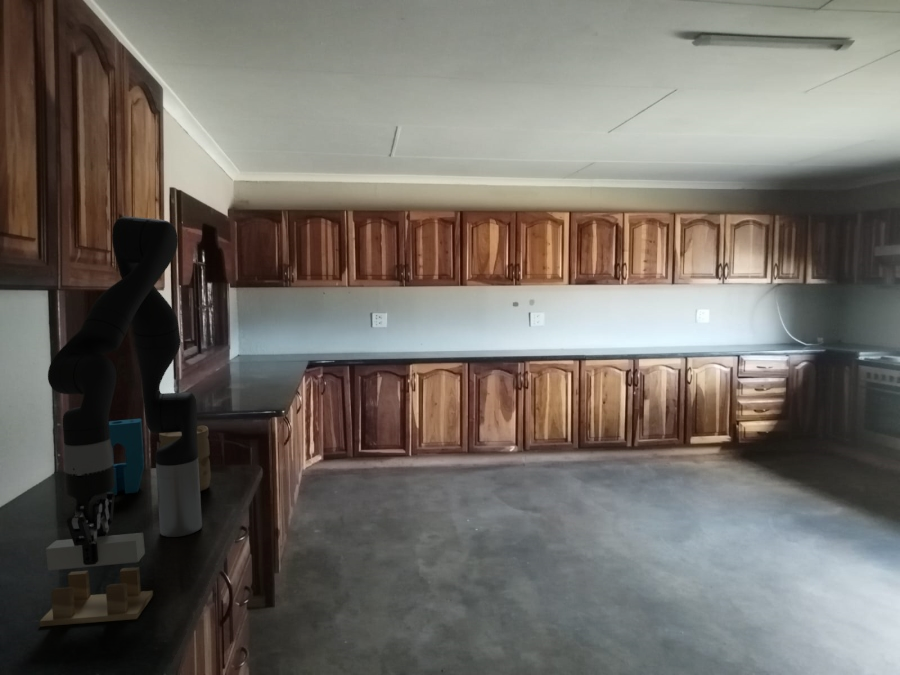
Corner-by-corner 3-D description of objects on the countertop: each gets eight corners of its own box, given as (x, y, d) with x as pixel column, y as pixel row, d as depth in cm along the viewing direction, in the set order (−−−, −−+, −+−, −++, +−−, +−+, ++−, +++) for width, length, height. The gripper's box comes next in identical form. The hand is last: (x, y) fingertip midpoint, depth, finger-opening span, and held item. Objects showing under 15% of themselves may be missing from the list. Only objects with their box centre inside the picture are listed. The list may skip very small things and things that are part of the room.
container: (161, 489, 173) (157, 428, 172) (208, 482, 179) (205, 422, 177) (164, 504, 162) (160, 438, 161) (214, 495, 168) (210, 432, 166)
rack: (63, 602, 114) (60, 571, 113) (152, 595, 116) (151, 565, 115) (40, 626, 106) (37, 593, 105) (137, 618, 108) (134, 586, 107)
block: (145, 485, 177) (141, 418, 175) (144, 491, 173) (140, 422, 170) (98, 491, 172) (93, 422, 170) (96, 497, 168) (91, 426, 166)
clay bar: (58, 561, 111) (55, 540, 110) (145, 553, 113) (143, 532, 112) (48, 570, 107) (45, 548, 107) (137, 561, 109) (135, 540, 109)
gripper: (85, 455, 115) (91, 543, 116) (45, 479, 101) (53, 579, 102) (127, 453, 116) (133, 540, 117) (94, 477, 102) (101, 575, 103)
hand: (95, 558), depth 110 cm, fingers closed on clay bar, 3 cm apart
